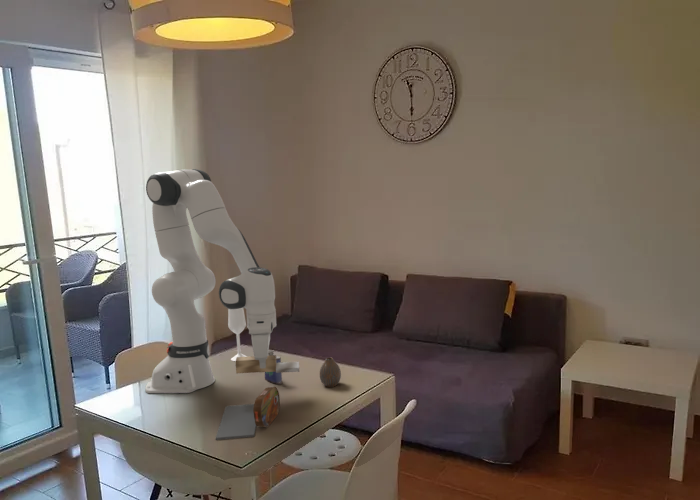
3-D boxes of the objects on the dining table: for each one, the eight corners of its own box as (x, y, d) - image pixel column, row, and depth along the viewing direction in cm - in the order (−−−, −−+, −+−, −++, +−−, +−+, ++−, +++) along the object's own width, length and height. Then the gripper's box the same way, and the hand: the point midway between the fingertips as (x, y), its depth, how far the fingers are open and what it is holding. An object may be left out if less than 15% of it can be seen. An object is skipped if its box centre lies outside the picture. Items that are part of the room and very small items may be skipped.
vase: (324, 390, 187) (323, 363, 186) (317, 383, 193) (315, 357, 192) (344, 386, 189) (343, 359, 188) (336, 379, 196) (335, 354, 195)
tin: (263, 432, 157) (261, 402, 156) (252, 432, 158) (250, 401, 157) (281, 410, 172) (279, 382, 171) (271, 410, 173) (269, 382, 172)
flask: (283, 383, 195) (281, 351, 194) (276, 385, 193) (273, 353, 192) (269, 376, 202) (267, 346, 201) (262, 379, 200) (260, 348, 199)
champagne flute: (249, 359, 223) (244, 297, 220) (231, 362, 221) (226, 299, 218) (247, 354, 229) (243, 294, 226) (230, 357, 228) (225, 296, 225)
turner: (235, 374, 177) (235, 362, 177) (237, 368, 183) (237, 355, 183) (299, 371, 179) (298, 358, 178) (299, 365, 185) (298, 352, 184)
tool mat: (215, 439, 154) (215, 437, 154) (226, 407, 176) (226, 406, 176) (254, 436, 155) (254, 434, 155) (259, 405, 177) (259, 403, 177)
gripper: (253, 313, 189) (255, 355, 191) (248, 330, 169) (250, 376, 171) (273, 312, 190) (275, 354, 191) (270, 329, 169) (272, 375, 171)
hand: (263, 365), depth 181 cm, fingers closed on turner, 3 cm apart
